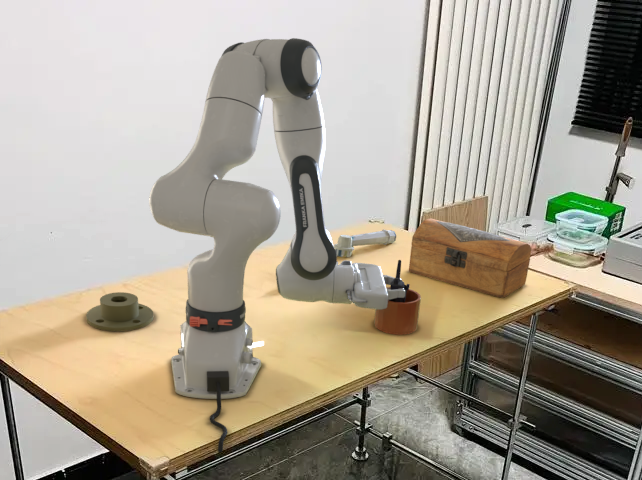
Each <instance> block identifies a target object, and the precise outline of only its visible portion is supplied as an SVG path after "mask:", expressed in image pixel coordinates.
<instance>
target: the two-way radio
mask: <svg viewBox="0 0 642 480" xmlns="http://www.w3.org/2000/svg"><path fill="white" fill-rule="evenodd" d="M401 270H402V259H398V260H397V266H396V273H395V277H394V278H395V279H394V280H393V281H392V282H391V285H389V286H390V289H391V290H395V289H397V288H404V289H405V297H404V298H398V297H397V298H394V299H391V300H390V299H389V301H393V302H402V303H405V298H406V293H407V291H408V289H410V285H411V284H410V283H406V284H405V281H403V279H401V280H400V278H401ZM403 299H404V300H403Z"/></svg>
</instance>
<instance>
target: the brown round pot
mask: <svg viewBox="0 0 642 480" xmlns="http://www.w3.org/2000/svg"><path fill="white" fill-rule="evenodd" d="M386 289H390V287H389V286H386ZM403 300H404V299H403ZM421 301H422V297H421V294H420V293H419V292H417V291H416V290H413V289H411V288H409V289H408V291H407V293H406V298H405V303H402V302H393V301H389V299H388V304H387V308H386V309H382V310H379V309H374V320H373V321H374V322H373V323H374V327H375V328H376V329H377V330H379V331H381V332H383V333H386V334H390V335H396V336H399V335H400V336H402V335H404V336H405V335H409V334H412V333H415V332H416V331H417V330H418V325H419V317H420V308H421Z"/></svg>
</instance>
